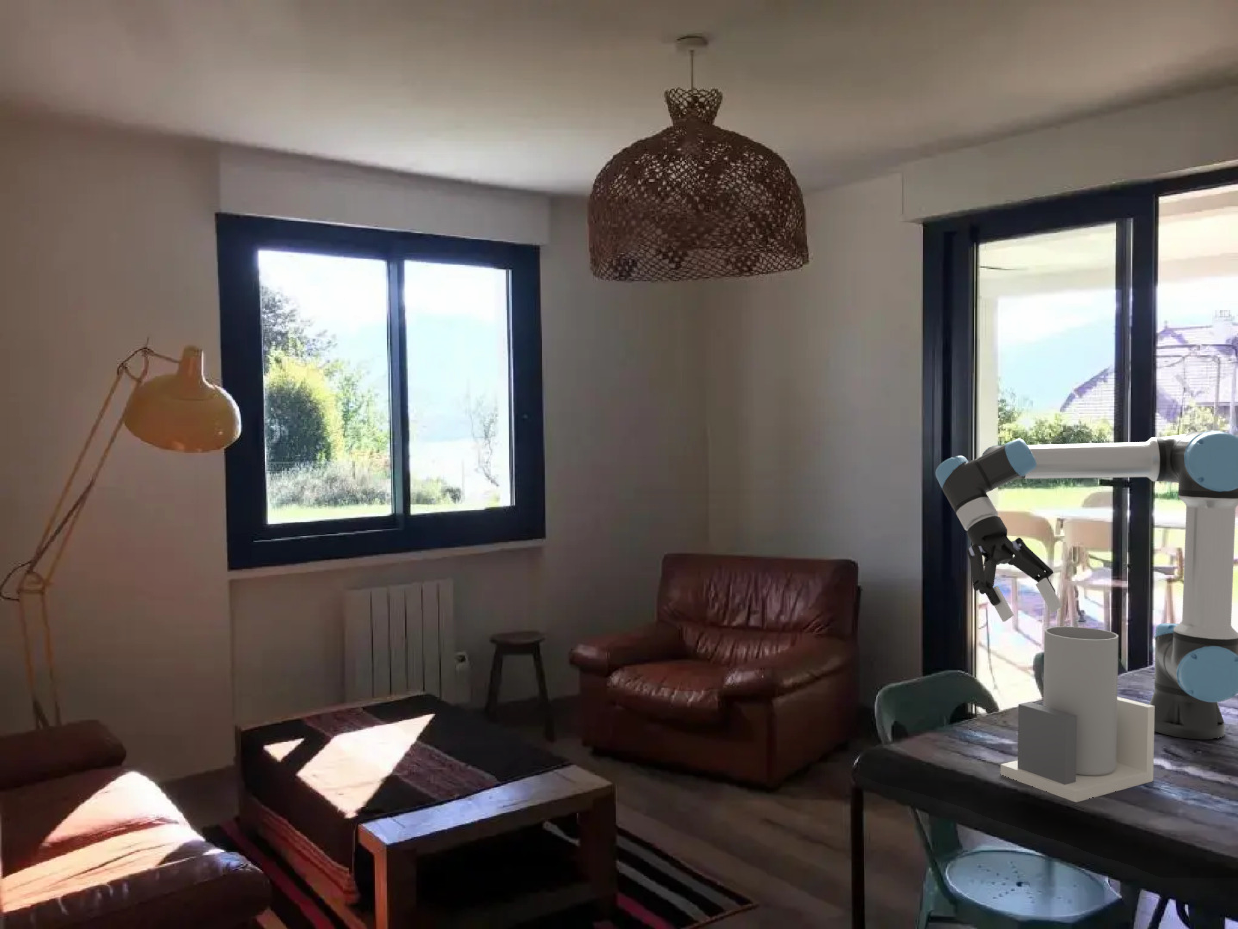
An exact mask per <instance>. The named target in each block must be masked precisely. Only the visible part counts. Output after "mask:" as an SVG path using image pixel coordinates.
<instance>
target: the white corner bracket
mask: <svg viewBox="0 0 1238 929" xmlns="http://www.w3.org/2000/svg"><path fill="white" fill-rule="evenodd" d="M1017 709H1018V717H1017V722H1018V724H1017V728H1018V729H1017V760H1013V761H1009V762H1005V763H1001V764H1000V774H1001V775H1000V776H1002V775H1004V776H1003V777H1005V776H1006V777H1005V778H1008V777H1009V778H1008V779H1011V780H1013V779H1014V781H1016V780H1017V781H1016V782H1018V783H1022V784H1024V785H1027V786H1030V787H1032V786H1033V788H1036V789H1039V790H1041V791H1044V792H1046V791H1047V792H1046V793H1050V794H1052V795H1054V796H1058V797H1060V798H1063V799H1066V800H1068V801H1071V802H1074V803H1079V802H1082V801H1083V802H1084V801H1086V800H1090V799H1093V798H1092V797H1094V798H1097V797H1100V796H1101V797H1102V796H1104V795H1108V794H1112V793H1116V792H1119V791H1122V790H1126V789H1130V788H1133V787H1136V786H1140V785H1144V784H1147V783H1151V782H1154V766H1155V765H1154V758H1155V757H1154V755H1155V753H1154V752H1155V751H1154V750H1155V731H1154V713H1155V706H1153V705H1149V704H1148V703H1144V702H1141V701H1137V700H1133V699H1128V698H1125V697H1124V698H1123V697H1120V696H1117V747H1116V768H1115V770H1114V771H1113V772H1111V773H1109V774H1105V775H1097V776H1089V775H1078V774H1076V741H1077V715H1074V714H1070V713H1067V712H1063V711H1060V710H1056V709H1052V708H1049V707H1045V706H1043V705H1041V704H1038V703H1034V702H1030V701H1027V702H1023V703H1018V708H1017ZM1115 791H1116V792H1115ZM1089 798H1090V799H1089Z"/></svg>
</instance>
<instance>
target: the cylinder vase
mask: <svg viewBox="0 0 1238 929" xmlns="http://www.w3.org/2000/svg"><path fill="white" fill-rule="evenodd" d="M1043 639H1044V642H1043V643H1044V644H1043V646H1044V649H1043V701H1042V702H1043V705H1042V706H1045V707H1049V708H1052V709H1056V710H1060V711H1063V712H1067V713H1070V714H1074V715H1077V741H1076V774H1078V775H1089V776H1097V775H1105V774H1109V773H1111V772H1113V771H1114V770H1115V768H1116V747H1117V697H1118V685H1119V684H1118V683H1119V682H1118V678H1119V634H1117V633H1115V632H1113V631H1109V630H1105V629H1099V628H1091V627H1084V626H1083V627H1081V626H1051V627H1048V628H1045V629H1044V638H1043Z"/></svg>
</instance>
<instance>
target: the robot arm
mask: <svg viewBox="0 0 1238 929" xmlns="http://www.w3.org/2000/svg"><path fill="white" fill-rule="evenodd" d="M934 473H935V478H936V479H937V482H938V483H939V486H940V488H941V490H942V491H943V492H942V493H943V494H944V496H945V497H946V498H947V501H948V502H949V504H950V506H951V508H952V509H953V511H954V513H955V515H956V516H957V518H958V519H959V521H960V524H961V525H962V527H963V529H964V530H965V531H966V535H967V537H968V538H969V540H970V543H971V544H972V545H971V546H970V547H968V549H966V554H967V556H968V558H969V560H970V571H971V580H972V588H973V590H975V591H977V592H979V594H981V595H986V598H987V599H988V601H989V603H990V604H991V605H992V606H993V607H994V608H995V610H996V612H997V615H998V616H999V618H1000V619H1001V621H1002V623H1003V622H1004V623H1005V622H1007V621H1008V620H1010V619H1011V618H1013V617H1014V613H1013V611H1012V609H1011V607H1010V605H1009V604H1008V601H1007V600H1006V598H1005V596H1004V594H1003V592H1002V591H1001V589H1000V587H999V586H998V585H996V586H995V579H996V573H997V567H998V565H1000V564H1001V565H1005V564H1007V565H1009V566H1014V567H1015V568H1017V569H1018V570H1020V571H1021V572H1022V573H1024V574H1025V575H1027V576H1028V577H1029V578H1031V579H1032V580H1034V581H1035V582H1037V583H1036V584H1035V586H1036V588H1037V589H1038V591H1039V594H1040V595H1041V597H1042V598H1043V600H1044V602H1045V604H1046V606H1047V608H1049V611H1050V613H1055V612H1057V611H1058V610H1060V609H1061V608H1063V603H1062V602H1061V601H1060V599H1059V597H1058V595H1057V593H1056V589H1055V588H1054V585H1053V584H1052V583H1051V580H1050V579H1049V578H1050V576H1052V575H1053V574H1054V570H1053V569H1052V568H1051V567H1050V566H1048V564H1046V563H1045V562H1044V561H1043V560H1042V559H1041V558H1040V557H1039V556H1038V555H1037V554H1036V553H1034V551H1033V550H1031V549H1030V548H1029V547H1028V546H1027V545H1026V543H1025V542H1024V540H1023V539H1022V538H1021V537H1017V538H1016V539H1015V540H1011V539H1010V538H1008V528H1007V526H1006V525H1005V523H1004V522H1003V520H1002V517H1000V516H999V513H998V510H997V509H996V508H995V506H994V504H993V502H992V500H991V499H990V498H989V495H988V493H989V492H991V491H993V490H995V489H997V488H999V487H1002V486H1003V485H1006V484H1008V483H1011V482H1012V481H1014V480H1022V479H1025V480H1028V479H1034V480H1035V479H1090V478H1091V479H1093V478H1147V479H1149V480H1151V482H1169V483H1177V484H1178V488H1177V489H1178V490H1177V492H1178V494H1177V496H1178V498H1179V499H1180V500H1181V502H1183V503H1184V505H1186V506H1185V507H1186V509H1185V530H1184V532H1185V533H1184V534H1185V535H1184V536H1185V537H1184V563H1183V585H1182V586H1183V591H1182V619H1181V622H1180V623H1172V622H1170V623H1169V622H1167V623H1165V622H1162V623H1159V624H1158V625H1157V626H1156V629H1155V635H1154V641H1155V642H1154V691H1153V693H1152V695H1151V698H1150V701H1149V705H1153V706H1155V713H1154V732H1156V733H1159V734H1163V735H1166V736H1170V737H1171V736H1172V737H1176V738H1183V739H1191V740H1214V739H1213V738H1217V739H1219V738H1218V737H1221V736H1223V737H1225V735H1224V734H1226V724H1225V721H1224V718H1223V715H1222V712H1221V709H1220V706H1219V703H1220V702H1225V701H1228V700H1230V699H1232V698H1234V697H1235V696H1236V695H1237V694H1238V632H1237V630H1235V629H1234V628H1233V625H1232V612H1233V611H1232V608H1233V583H1234V563H1235V562H1234V561H1235V560H1234V558H1235V557H1234V556H1235V555H1234V554H1235V534H1236V533H1235V531H1236V530H1235V529H1236V509H1237V506H1238V436H1237V435H1235V434H1232V433H1229V432H1226V431H1222V430H1209V431H1204V430H1203V431H1202V430H1201V431H1192V432H1186V433H1181V434H1177V435H1176V434H1175V435H1169V436H1155V437H1154V436H1153V437H1150V438H1149V439H1148V440H1147V441H1139V442H1138V441H1137V442H1136V441H1135V442H1133V441H1132V442H1104V443H1103V442H1101V443H1100V442H1099V443H1098V442H1097V443H1092V442H1091V443H1067V444H1066V443H1065V444H1062V443H1061V444H1060V443H1059V444H1027V443H1026V442H1025V440H1024V439H1022V438H1016V439H1014V440H1011V441H1008V442H1007V443H1005V444H1002V445H992V446H990V447H988V448H986V449H984V451H983V452H982V455H981V456H979V457H977V458H974V459H972V460H968V459H967V457H965V456H963V455H956V456H954V457H950V458H947V459H945V460H944V461H942V462H941V463H940V464H939V465H938V466H937V467H936V469H935V472H934ZM1221 738H1222V737H1221Z"/></svg>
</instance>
